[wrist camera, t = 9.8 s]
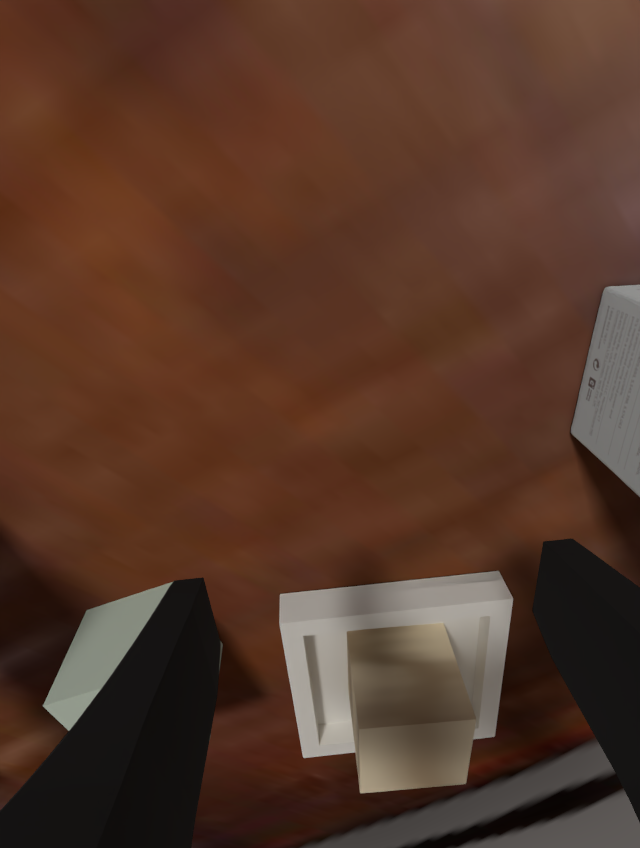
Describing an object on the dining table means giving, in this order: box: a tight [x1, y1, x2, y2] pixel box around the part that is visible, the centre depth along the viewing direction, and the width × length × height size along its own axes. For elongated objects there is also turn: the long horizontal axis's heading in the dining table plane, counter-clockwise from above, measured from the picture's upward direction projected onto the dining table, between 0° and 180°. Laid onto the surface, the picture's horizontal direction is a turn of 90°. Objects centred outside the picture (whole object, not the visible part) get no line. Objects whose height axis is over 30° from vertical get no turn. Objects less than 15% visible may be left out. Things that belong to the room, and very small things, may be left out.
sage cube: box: [43, 582, 223, 740], centre depth 23 cm, size 5×5×5 cm
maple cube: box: [347, 623, 476, 793], centre depth 24 cm, size 5×5×5 cm
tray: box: [279, 571, 513, 758], centre depth 26 cm, size 11×11×2 cm
